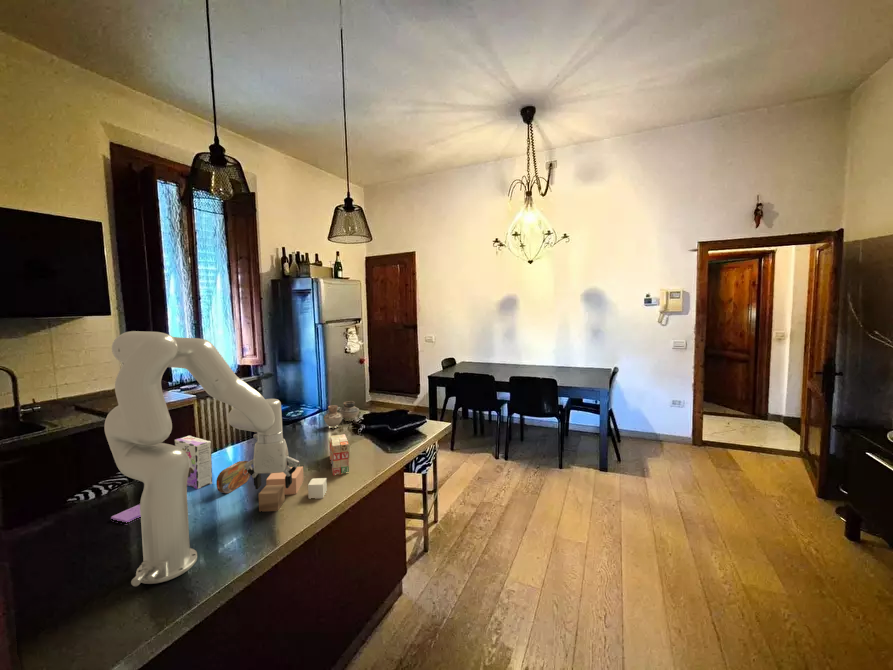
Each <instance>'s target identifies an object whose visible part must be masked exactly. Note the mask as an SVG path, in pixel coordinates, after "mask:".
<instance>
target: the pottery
mask: <svg viewBox="0 0 893 670" xmlns="http://www.w3.org/2000/svg"><path fill="white" fill-rule="evenodd" d="M355 403H356V402H355V401H353V400H349V401H344V402H343V407H342V408H340V409H339V412H338V408H339V406H338V405H336V404H334V405H329V406H328V407H327V408H328V413H326V414H325V415H324V416H323V420H324V422H325V424H326V425H327V426H336V425H339V426H340V424H341V422H342V420H343V419H344V418H354V417H356V418H357V417H358V415H359V413H360V408H358V407H356V406H355Z"/></svg>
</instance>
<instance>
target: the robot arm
mask: <svg viewBox="0 0 893 670" xmlns="http://www.w3.org/2000/svg"><path fill="white" fill-rule="evenodd" d="M111 352H112V355H113V356H114V358H115V359H116V360H117V361H119V362H120V363H122V365H121V367H120V369H119V371H118V373H117V376H116V378H115V382H114V392H115V396H116V400H117V404H118V405H116V406H115V407H113V408H112V409H111V410H110V411H109V412H108V413H107V416H106V418H105V421H104V434H105V438H106V440H107V441H106V442H108V443H107V444H108V445H109V449H110V451H111V453H112V457H113V460H114V463H115V465H116V467H117V468H118V470H119V471H120V473H121V474H122V475H124V476H125V477H128V478H130V479H133V480H136V481H139V482H142V483H143V491H142V493H141V497H140V501H139V502H140V503H139V504H140V515H141V518H140V523H141V524H140V525H141V539H142V540H141V543H142V556H143V557H142V558H143V561H142V562H141V564H140V565H139V567H138V568H137V569H136V571H135V572H136V573H135V576H134V577H133V578H132V579H131V580H130V584H131V585H132V586H133V587H138V586H139V585H140V584H141V583H142V584H144V585H145V584H147V585H153V584H154V585H155V584H160V583H164V582H168V581H170V580H173V579H175V578H177V577H179V576H181V575H183V574H186V572H188V571H189V570H190V569H191V568H193V566H194V565H196V562H197V561H198V552H197V550H195V549H194V548H191V546H190V544H191V543H190V529H189V525H190V523H189V510H188V509H189V507H188V491H187V490H188V485H187V479H188V473H189V467H190V461H189V457H188V455H187V453H186V452H185V451H184V450H182V449H181V448H179V447H177V446H175V444H174V445H173V444H169V443H165V440H167V439H168V438H169V437H170V434H171V433H172V430H173V423H172V422H173V421H172V418H171V416H170V412H169V409H168V406H167V403H166V400H165V395H164V392H163V388H162V379H163V375H164V373H165V372H166V370H167V368H174V369H176V368H177V369H185V370H187V372H189V373H190V375H191V376H192V377H193V378H194V379H195V380H196V381H197V383H198V384H199V385H200V386H201V388H203V390H204V391H205V392H206V394H208V396H209V397H212V398H213V399H215V400H217V401H219V402H222V403H224V404H226V405H229V406H230V407H232V409H231V410H230V411H229V413H228V415H227V423H228V424H229V425H230V426H231V427H232V428H233V429H237V430H241V431H248V432H254V434H253V439H256V442H255V444H254V447H253V449H254V450H253V451H254V452H253V459H251V460H249V461H248V462H247V463H246V464H245V465H244V466H245V468H246V469H247V470H248V473H249V474H250V475H251V478H253V485H254V487H255V488H254V490H258V489H260V488H261V486H262V475H261V474H271V473H281V472H284V473H285V474H286V477H285V486H286V488H288V487H289V486H290V485H291V484H292V473H293V472H294V471H295V470H296V468H297V467H299V466H298V465H299V464H300V461H299V460H298V459H295V458H293V457H291V456H290V455H289V449H288V445H287V442H286V439H285V438H284V434H283V433H284V431H283V429H284V428H283V416H282V415H283V414H282V402H281V401H280V400H279V399H277V398H266V399H265V397H264V396H263V395H262V394H261V393H260V392H259V391H257V390H256V389H255V388H254V387H253V386H251V385H249V384H248V383H247V382H246V381H244V380H243V379H241V378H240V377H238V376H237V375H236V373H235V372H234V371H233V369H232V367H230V365H229V364H228V362H226V360H225V358H224V357H223V356H222V354H221V353H220V352H219V351H218V349H217V348H216V347H215V346H214V345H213V343H212V342H210V341H209V340H207V339H204V338H199V337H196V338H195V337H179V336H178V337H177V336H172V335H170V334H168V333H166V332H160V331H139V330H137V331H136V330H131V331H125V332H123V333H121V334H119V335H118V336H116V337H115V339H114V340H113V342H112V345H111ZM290 464H292V465H293V466H290ZM252 465H253V466H252ZM290 467H292V468H290Z"/></svg>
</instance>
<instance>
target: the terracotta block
mask: <svg viewBox="0 0 893 670" xmlns="http://www.w3.org/2000/svg"><path fill="white" fill-rule="evenodd" d="M289 467H290V468H292V467H293V466H289ZM285 477H286V474H285V473H284V472H281V473H269V476H268V477H267V478H266V480H265V482H266V483H265V484H266V485H284V495H286V496H287V495H297V494H298V492H299V490H300V488H301V487H302V485H303V483H304V482H305V481H304V466H297V468H296V470H295V471H294V472H293V473H292V484H291V485H290V486H289V487H288V488H286V486H285ZM266 485H265V486H266Z"/></svg>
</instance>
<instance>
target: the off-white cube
mask: <svg viewBox="0 0 893 670" xmlns="http://www.w3.org/2000/svg"><path fill="white" fill-rule="evenodd" d="M327 487H328V486H327V477H317V478H311V480H310V481H309V483H308V484H307V488H308V489H307V490H308V491H307V494H308V496H307V497H308V500H309V499H310V500H311V498H315V499H324V498H323V497H325V496H324V495H326V494H325V493H327V492H326V491H327Z"/></svg>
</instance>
